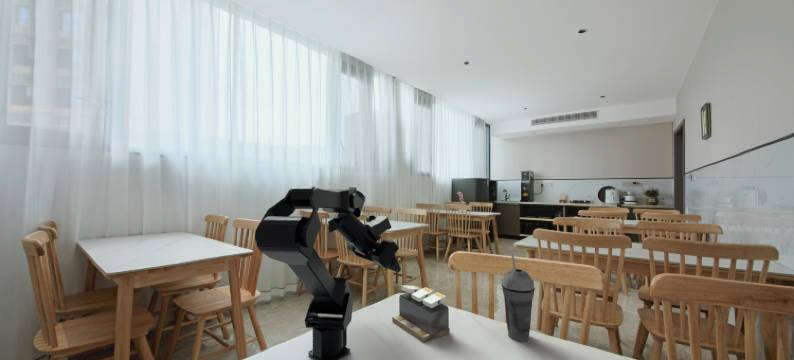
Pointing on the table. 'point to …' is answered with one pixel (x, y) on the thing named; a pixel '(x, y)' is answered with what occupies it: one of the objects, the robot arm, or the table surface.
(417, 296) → the rocker mid
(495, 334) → the table surface
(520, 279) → the beverage cup
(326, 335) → the robot arm
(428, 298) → the rocker right
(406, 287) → the rocker left
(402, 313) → the switch unit
